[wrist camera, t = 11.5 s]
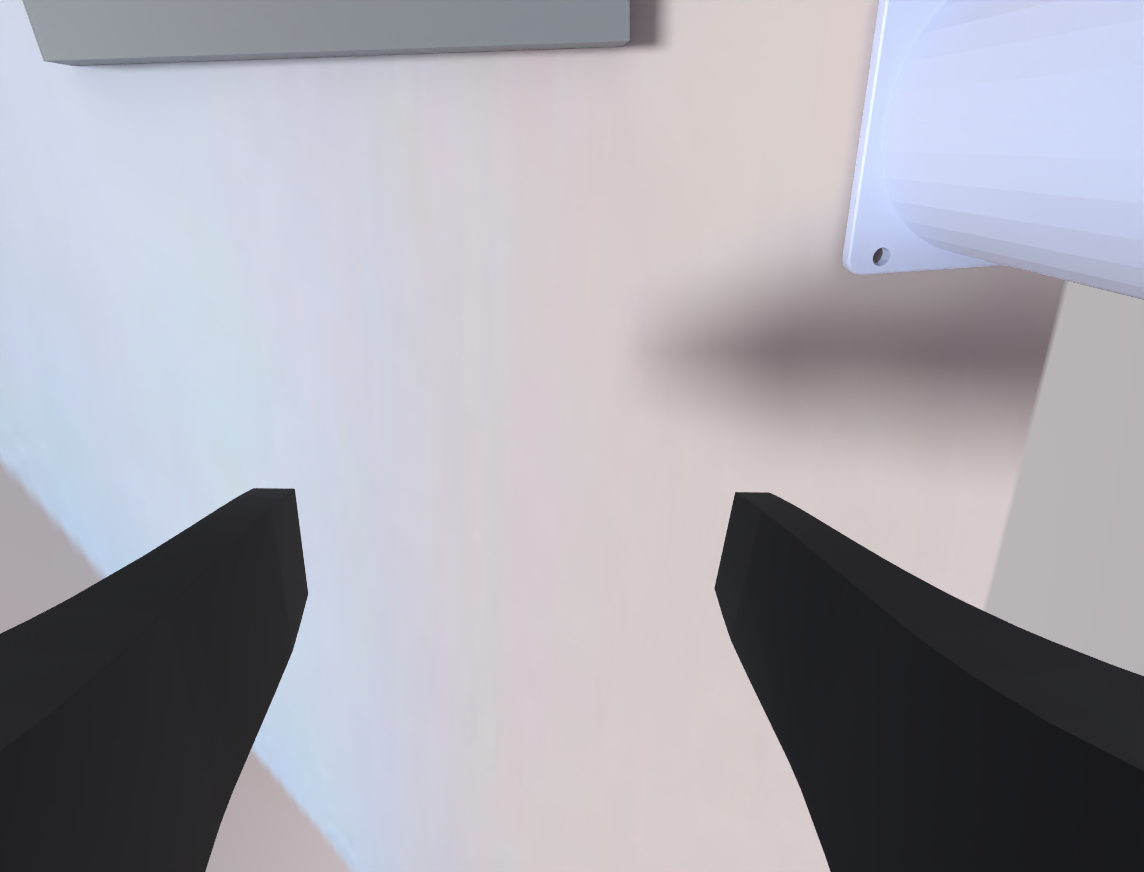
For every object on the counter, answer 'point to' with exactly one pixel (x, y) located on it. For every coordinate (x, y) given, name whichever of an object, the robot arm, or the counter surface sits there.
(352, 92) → the counter surface
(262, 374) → the counter surface
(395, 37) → the plate
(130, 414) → the counter surface
